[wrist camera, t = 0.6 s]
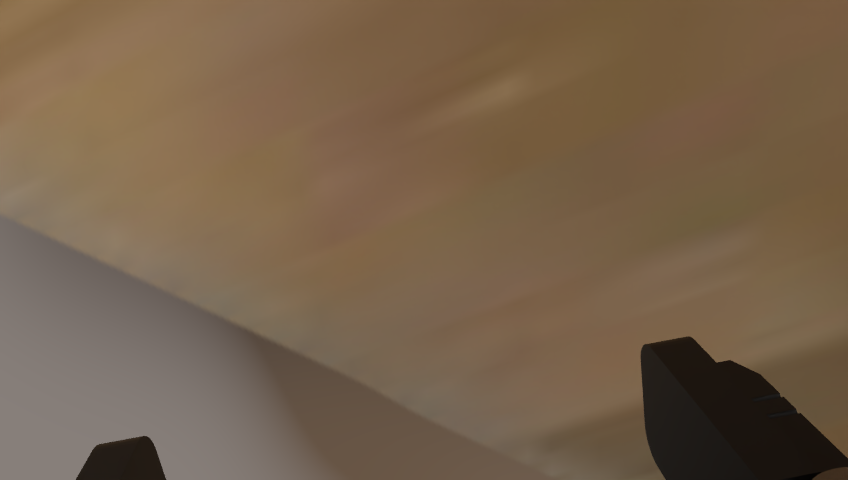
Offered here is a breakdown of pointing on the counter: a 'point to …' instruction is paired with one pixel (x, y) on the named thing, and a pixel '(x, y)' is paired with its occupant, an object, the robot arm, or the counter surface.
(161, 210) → the counter surface
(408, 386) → the counter surface
